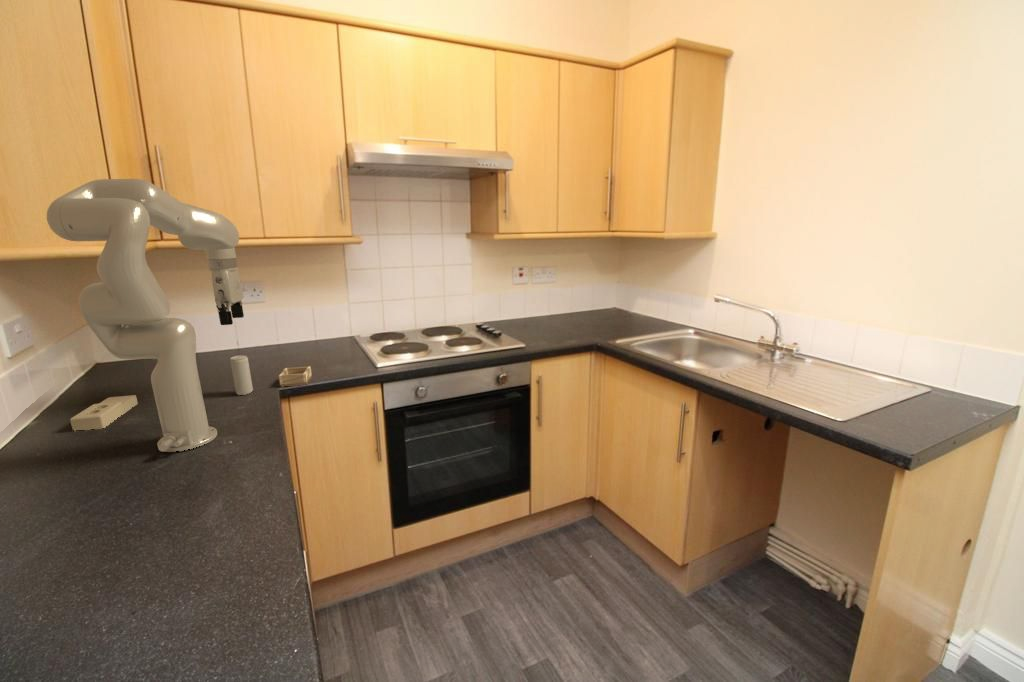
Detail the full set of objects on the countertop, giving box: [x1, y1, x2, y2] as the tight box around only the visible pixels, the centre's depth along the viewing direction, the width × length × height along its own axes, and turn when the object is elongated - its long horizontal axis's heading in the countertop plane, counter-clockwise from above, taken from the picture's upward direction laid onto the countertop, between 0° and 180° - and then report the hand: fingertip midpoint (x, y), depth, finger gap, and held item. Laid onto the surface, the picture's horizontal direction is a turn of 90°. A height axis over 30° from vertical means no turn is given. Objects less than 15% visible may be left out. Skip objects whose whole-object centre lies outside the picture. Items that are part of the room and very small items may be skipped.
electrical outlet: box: [69, 394, 139, 432], centre depth 137 cm, size 7×4×18 cm
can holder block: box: [278, 365, 313, 386], centre depth 162 cm, size 8×8×4 cm
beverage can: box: [230, 354, 254, 396], centre depth 152 cm, size 5×5×12 cm
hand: (232, 321), depth 147 cm, fingers open, 9 cm apart
